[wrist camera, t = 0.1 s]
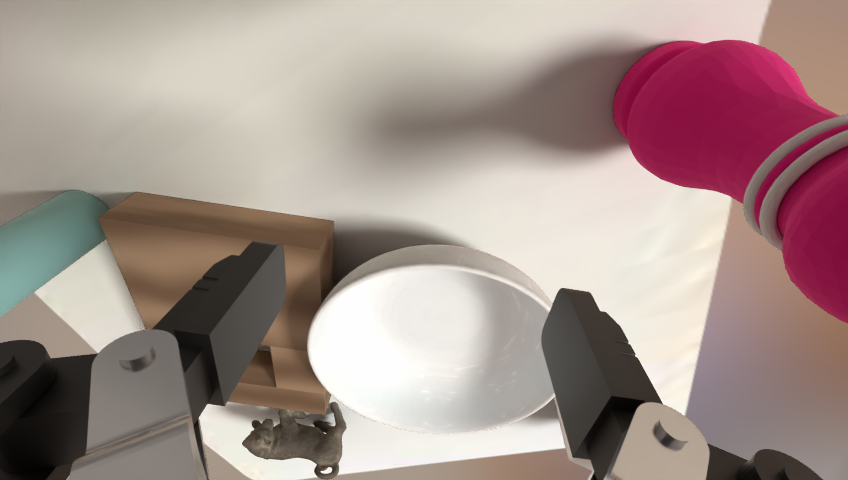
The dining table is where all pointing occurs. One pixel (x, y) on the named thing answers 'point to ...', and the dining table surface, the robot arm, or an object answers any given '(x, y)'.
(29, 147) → the dining table surface
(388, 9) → the dining table surface
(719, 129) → the pepper mill
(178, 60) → the dining table surface
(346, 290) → the serving bowl
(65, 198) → the pin
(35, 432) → the robot arm
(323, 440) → the dog figurine
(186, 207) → the socket board
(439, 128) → the dining table surface
